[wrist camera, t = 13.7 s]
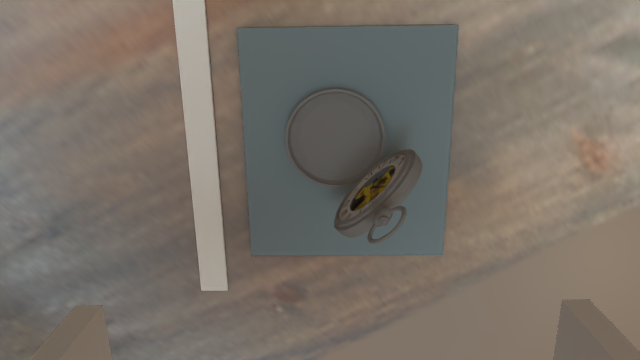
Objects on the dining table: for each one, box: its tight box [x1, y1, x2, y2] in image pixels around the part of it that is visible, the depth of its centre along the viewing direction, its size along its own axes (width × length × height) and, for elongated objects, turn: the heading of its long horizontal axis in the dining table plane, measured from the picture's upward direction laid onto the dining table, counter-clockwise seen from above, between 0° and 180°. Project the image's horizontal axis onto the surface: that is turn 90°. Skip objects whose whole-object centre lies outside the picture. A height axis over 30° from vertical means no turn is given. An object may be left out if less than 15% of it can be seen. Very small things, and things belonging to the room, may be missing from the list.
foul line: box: [173, 0, 228, 291], centre depth 34 cm, size 2×22×1 cm, turn 1°
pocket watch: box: [285, 88, 423, 244], centre depth 28 cm, size 8×8×10 cm
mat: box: [237, 25, 459, 256], centre depth 33 cm, size 14×16×1 cm
